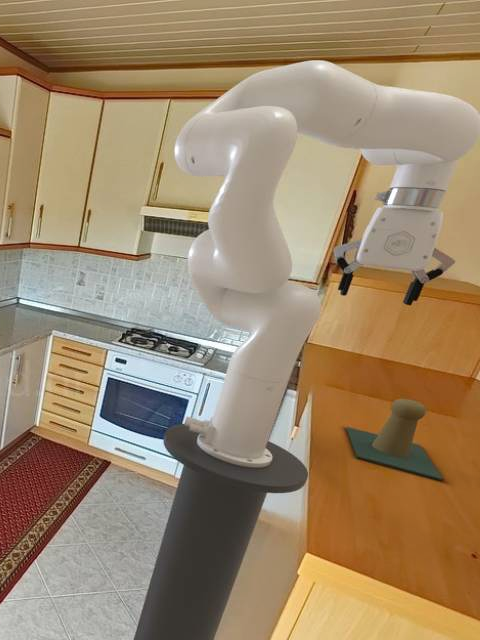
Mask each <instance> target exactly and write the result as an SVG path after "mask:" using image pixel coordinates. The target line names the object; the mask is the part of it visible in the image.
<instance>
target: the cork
mask: <svg viewBox="0 0 480 640" xmlns="http://www.w3.org/2000/svg"><path fill="white" fill-rule="evenodd" d="M390 410H391V414H390V416H389V417H388V419H387V420H386V422H385V423H384V425H383V426H382V428H381V430H380V431H379V432H378V434H377V435H378V436H377V437H376V439H375V441H374V442H373V444H372V446H373V447H374V448H375V449H377V450H379V451H381V452H383V453H386V454H389V455H392V456H397V457H409V453H410V449H411V445H412V443H413V440H414V437H415V435H416V430H417V426H418V422H419V420H422V419H423V418H424V417H425V415H426V413H427V408H426V406H425V405H424V404H423V403H421V402H419V401H416V400H414V399H413V400H412V399H408V398H398V399H395V400H394V401H393V402H392V404H391V408H390Z"/></svg>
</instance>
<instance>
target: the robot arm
mask: <svg viewBox="0 0 480 640" xmlns="http://www.w3.org/2000/svg"><path fill="white" fill-rule="evenodd" d="M298 134H300V135H303V136H306V137H309V138H312V139H315V140H317V141H319V142H322V143H324V144H327V145H330V146H332V147H334V148H335V147H336V148H343V149H351V150H352V149H353V150H360V152H361V155H362V157H363V158H364V159H365V160H366V161H367V162H369V163H371V164H373V165H378V166H396V169H395V172H394V176H392V181H391V182H390V186H389V189H387V190H386V191H382V192H377V193H376V195H375V199H374V201H379V202H381V203H382V207H377V208H376V210H375V212H373V215H372V217H371V218H370V220H369V222H368V224H367V226H366V229H365V230H364V232H363V234H362V237H361V239H358V240H354V241H351V242H347V243H343V244H341V245H337V246H335V247H333V255H334V258H335V263H336V265H338V267H339V268H340V269H341V271H342V272H343V273H342V275H341V278H340V281H339V284H338V287H337V291H340V293H339V295H341V296H342V297H343V296H347V295H348V292H349V289H350V287H351V285H352V281H353V279H354V276H355V275H354V271H356V270H357V269H359V268H360V267H362V266H364V265H365V266H370V267H377V268H378V267H379V268H386V269H393V270H402V271H410V272H411V273H412V276H413V277H414V280H413V281H411V282H410V284H409V286H408V289H407V291H406V293H405V296H404V299H403V301H402V303H403V304H404V305H406V306H412V305H413V302H417V301H418V300H419V298H420V295H421V293H422V290H423V288H424V286H425V284H428V283H429V282H430V281H432V280H434V279H437V278H438V277H441V276H442V275H443V274H444V273H445V272H446V271H448V270H449V269H450V268H451V267H452V266H453V265H455V264H456V260H455V259H454V258H453V257H451V256H449V255H447V254H446V253H444V252H443V251H442V250H439V249H438V248H436V244H437V242H438V239H439V238H438V237H439V236H440V235H439V234H440V231H441V228H442V224H443V219H444V211H443V212H442V211H439V209H440V206H441V204H442V201H443V199H444V198H445V197H444V196H445V194H446V191H447V189H448V186H449V184H450V182H451V179H452V176H453V174H454V172H455V169H456V167H457V164H458V162H459V160H460V159H461V158H463V157H465V156H466V155H468V154H469V153H470V152H471V151H472V150H473V148H474V147H475V146H476V144H477V143H478V141H479V139H480V113H479V111H478V110H477V109H476V108H475V107H474V106H473V105H472V104H469V103H468V102H466V101H465V100H463V99H460V98H458V97H456V96H453V95H449V94H445V93H439V92H432V91H426V90H418V89H417V90H416V89H409V88H403V87H397V86H387V85H381V84H377V83H374V82H372V81H371V80H368V79H367V78H364V77H362V76H360V75H358V74H356V73H354V72H351V71H350V70H348V69H345V68H344V67H341V66H340V65H337V64H335V63H333V62H330V61H327V60H321V59H317V60H313V59H312V60H305V61H301V62H295V63H291V64H287V65H281V66H278V67H275V68H269V69H265V70H261V71H258V72H256V73H254V74H251V75H250V76H248V77H247V78H245V79H243V80H242V81H240V82H239V83H237V84H236V85H234V86H233V87H231V88H230V89H229V90H227V91H226V92H225V93H223V94H222V95H220V96H219V97H218V98H217V99H215V100H214V101H213V102H211V103H210V104H209V105H207V106H206V107H204V108H203V109H201V110H200V111H199V112H197V113H196V114H195V115H194V116H192V117H191V118H190V119H189V120H188V121H187V122H186V123H185V124H184V125H183V126H182V128H181V130H180V132H179V133H178V134H177V138H176V141H175V143H174V150H173V152H174V154H173V155H174V160H175V162H176V165H177V167H178V168H179V169H180V170H181V171H182V172H183V173H185V174H187V175H189V176H192V177H224V180H223V182H222V184H221V186H220V189H219V190H218V192H217V194H216V197H215V199H214V201H213V202H212V204H211V206H210V208H209V211H208V217H207V225H208V229H207V230H205V231H203V232H202V233H200V234H198V235H197V237H195V239H194V240H193V242H192V244H191V246H190V247H189V251H188V254H187V270H188V275H189V277H190V280H191V281H192V284H193V285H194V287H195V290H196V291H197V293H198V295H199V296H200V299H201V300H202V302H203V304H204V305H205V308H206V309H207V311H208V313H209V314H210V315H211V316H212V318H213V319H215V321H217V322H218V323H220V324H223V325H226V326H229V327H232V328H235V329H238V330H241V331H244V332H248V333H250V335H249V337H247V339H245V340H244V341H243V342H242V343H241V344H240V345H239V346H238V347H237V348H236V349H234V351H233V353H232V355H231V357H230V360H229V363H228V366H227V369H226V373H225V376H224V379H223V383H222V386H221V388H220V389H221V390H220V393H219V397H218V400H217V403H216V407H215V410H214V413H213V416H211V417H210V420H208V419H207V420H206V419H204V420H199V419H197V418H194V417H191V416H186V417H185V420H184V423H183V424H184V426H187V427H190V428H189V431H193V432H197V433H201V434H199V436H198V438H197V444H198V445H199V447H200V448H201V449H202V450H203V451H205V452H206V453H208V454H209V455H211V456H213V457H215V458H217V459H219V460H222V461H224V462H227V463H231V464H234V465H238V466H243V467H250V468H262V467H266V466H268V465H270V464H271V461H272V454H271V453H270V452H269V451H268V450H267V449H266V448H265V447H266V444H267V442H268V441H269V439H270V436H271V433H272V429H273V426H274V424H275V421H276V418H277V415H278V413H279V410H280V407H281V404H282V401H283V398H284V395H285V393H286V390H287V387H288V384H289V381H290V378H291V375H292V372H293V369H294V367H295V364H296V362H297V360H298V357H299V355H300V352H301V350H302V349H303V346H304V344H305V343H306V341H307V340H308V337H309V336H310V334H311V333H312V331H313V329H314V327H315V326H316V324H317V323H318V320H319V318H320V315H321V312H322V303H321V299H320V296H318V294H317V293H316V292H315V291H314V290H313V289H311V288H310V287H308V286H305V285H304V284H300V283H298V282H294V281H289V280H290V277H291V274H292V270H293V261H292V256H291V252H290V249H289V246H288V243H287V241H286V238H285V236H284V233H283V230H282V228H281V225H280V222H279V220H278V216H277V213H276V210H275V207H274V205H275V204H274V199H275V193H276V190H277V187H278V186H279V185H278V184H279V183H280V180H281V178H282V175H283V173H284V171H285V169H286V166H287V164H288V162H289V160H290V158H291V157H292V155H293V152H294V149H295V147H296V143H297V138H298ZM354 249H356V251H355V255H354V260H353V261H351V262H350V263H348V262H347V260H346V259H345V254H344V253H345V252H348V251H350V250H354ZM431 258H433V259H435V260H436V261H438V262H439V264H438V265H437V266H436V267H435V268H433V269H431V270H429V271H427V272H426V271H425V270H426V268H427V267H428V265H429V264H430V261H431Z"/></svg>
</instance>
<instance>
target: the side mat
mask: <svg viewBox="0 0 480 640" xmlns="http://www.w3.org/2000/svg"><path fill="white" fill-rule="evenodd" d="M345 430H346V432H347V434H348V438H349V440H350V443H351V446H352V448H353V451H354V454H355V457H356V459H358V460H362V461H365V462H369V463H372V464H377V465H380V466H383V467H387V468H391V469H394V470H399V471H402V472H406V473H409V474H414V475H417V476H421V477H424V478H428V479H432V480H435V481H440V482H443V480H444V478H443V477H442V476H441V474H440V472H439V471H438V469H437V468H436V466H435V465H434V464H433V462H432V460H430V458H429V456H428V455H427V454H426V452H425V451H424V449H423V447H422V446H421V445H420V444H418V443H413V442H412V445H411V449H410V453H409V457H397V456H392V455H389V454H386V453H383V452H381V451H379V450H377V449H375V448H374V447H373V446H372V444H373V442H374V441H375V439H376V437H377V436H378V434H377V433H373V432H369V431H365V430H361V429H357V428H354V427H349V426H346V428H345Z"/></svg>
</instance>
